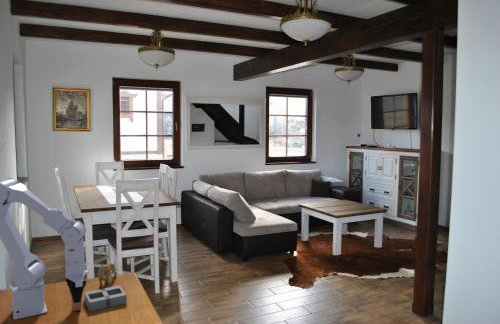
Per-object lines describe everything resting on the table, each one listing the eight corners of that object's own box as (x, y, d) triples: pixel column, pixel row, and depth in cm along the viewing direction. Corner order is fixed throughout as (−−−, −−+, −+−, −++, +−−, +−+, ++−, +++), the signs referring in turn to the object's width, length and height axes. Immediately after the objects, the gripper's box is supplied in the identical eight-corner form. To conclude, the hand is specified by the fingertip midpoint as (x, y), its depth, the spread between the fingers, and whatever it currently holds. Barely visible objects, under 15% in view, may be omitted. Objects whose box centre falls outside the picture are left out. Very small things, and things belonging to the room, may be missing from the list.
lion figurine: (111, 290, 152) (110, 266, 151) (95, 291, 151) (95, 267, 150) (117, 275, 166) (117, 253, 165) (104, 275, 165) (103, 253, 164)
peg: (72, 311, 134) (71, 287, 133) (70, 307, 137) (70, 284, 136) (82, 309, 136) (81, 286, 135) (80, 305, 138) (79, 282, 137)
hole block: (89, 311, 136) (89, 302, 135) (84, 300, 143) (84, 292, 143) (126, 303, 142) (126, 294, 141) (119, 293, 149) (119, 285, 149)
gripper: (92, 265, 130) (93, 306, 132) (83, 251, 143) (85, 289, 144) (68, 269, 127) (69, 311, 128) (61, 254, 139) (62, 293, 140)
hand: (76, 300), depth 136 cm, fingers closed on peg, 3 cm apart
